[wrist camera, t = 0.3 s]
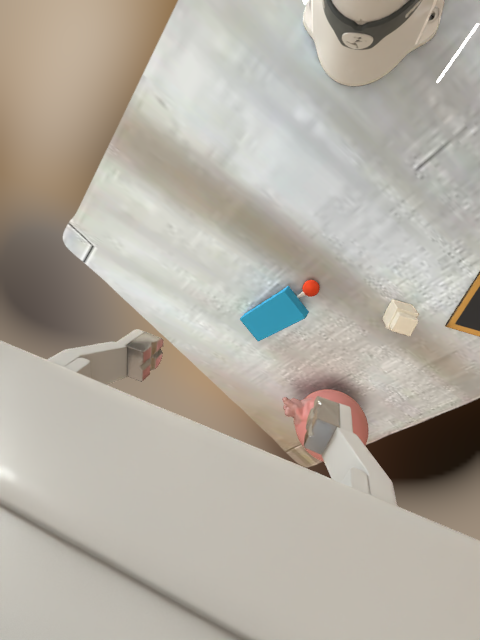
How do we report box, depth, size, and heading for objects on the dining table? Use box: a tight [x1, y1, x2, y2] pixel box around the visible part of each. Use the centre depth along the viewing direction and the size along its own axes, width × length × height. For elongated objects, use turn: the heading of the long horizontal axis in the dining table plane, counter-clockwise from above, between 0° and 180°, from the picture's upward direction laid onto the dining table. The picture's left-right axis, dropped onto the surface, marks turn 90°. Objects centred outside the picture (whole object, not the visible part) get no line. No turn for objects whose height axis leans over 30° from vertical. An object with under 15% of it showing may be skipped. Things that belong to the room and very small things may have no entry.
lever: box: [240, 280, 320, 341], centre depth 59 cm, size 7×7×18 cm
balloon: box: [283, 389, 368, 462], centre depth 60 cm, size 15×20×15 cm
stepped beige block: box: [383, 299, 419, 336], centre depth 51 cm, size 4×4×7 cm
